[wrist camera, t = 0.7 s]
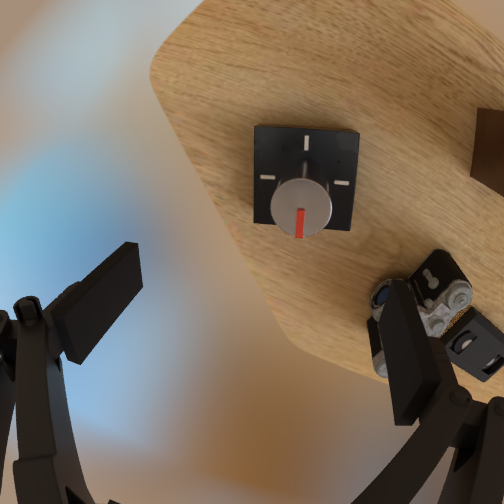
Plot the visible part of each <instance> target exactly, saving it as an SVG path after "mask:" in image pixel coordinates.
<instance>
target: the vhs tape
mask: <svg viewBox="0 0 504 504" xmlns="http://www.w3.org/2000/svg"><path fill="white" fill-rule="evenodd" d="M440 341H441V342H442V343H443V344H444V346H445V348H446V351H447V355H448V356H449V359H450V362H452V363H454V364H455V365H457V366H458V367H460V368H461V369H463V370H465V371H466V372H468V373H469V374H471V375H472V376H474V377H475V378H477V379H478V380H480V381H482V382H486V381H487V380H488V379H489V378H490V377H491V376H493V375H494V374H495V373H496V372H497V371H498V370H499V369H500V368H501V367H503V366H504V334H503V333H502V332H501V331H500V330H499V329H498V328H497V327H495V326H494V325H493V324H492V323H491V322H490V321H489V320H488V319H486V318H485V317H484V316H483V315H482V314H481V313H480V312H478V311H477V310H476V309H475V308H474V307H473V306H472V307H471V308H470V309H469V310H468V311H467V312H466V313H465V314H464V315H463V316H462V317H461V318H460V319H459V320H458V321H457V322H456V323H455V324H454V325H453V326H452V327H451V328H450V329H449V330H448V331H447V332H446V333H445V334H444V335H443V336H442V337H441V338H440Z"/></svg>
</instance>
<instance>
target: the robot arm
mask: <svg viewBox="0 0 504 504" xmlns="http://www.w3.org/2000/svg"><path fill="white" fill-rule="evenodd" d="M142 288H143V283H142V275H141V266H140V258H139V248H138V243H132V242H125V243H124V244H123V245H121V246H120V247H119V248H118V249H117V250H116V251H115V252H113V253H112V254H111V255H110V256H109V257H108V258H106V259H105V260H104V261H103V262H102V263H101V264H100V265H99V266H97V267H96V268H95V269H94V270H93V271H92V272H91V273H90V274H88V275H87V276H86V277H85V278H84V279H83V280H82V281H81V282H79V281H78V282H76V283H74V284H72V285H70V286H68V287H67V288H66V289H65V290H64V291H63V293H61V294H60V295H59V296H58V298H56V299H54V301H52V302H51V303H50V304H49V305H48V306H47V307H46V308H45V309H44V310H42V307H41V304H40V301H39V299H38V298H37V297H35V296H26V297H23V298H21V299H19V300H18V301H17V302H16V303H15V304H14V306H13V309H14V312H15V314H16V317H17V320H10V318H9V316H8V313H7V312H6V311H5V310H0V355H1V357H0V493H1V486H2V477H3V468H4V460H5V454H6V447H7V441H8V435H9V430H10V424H11V420H12V415H13V410H14V406H15V402H16V426H17V440H18V451H19V459H18V460H16V461H14V462H13V475H14V482H15V489H16V495H17V501H18V504H95V502H94V500H93V498H92V497H91V495H90V493H89V491H88V489H87V486H86V484H85V480H84V477H83V473H82V469H81V465H80V462H79V458H78V453H77V449H76V445H75V440H74V436H73V432H72V426H71V421H70V416H69V410H68V404H67V398H66V391H65V384H64V377H63V369H62V361H61V358H60V354H61V353H62V352H63V351H64V352H65V355H66V357H67V359H68V360H69V361H71V362H74V363H76V364H79V365H81V364H82V363H83V361H84V360H85V359H86V357H87V356H88V355H89V353H90V352H91V351H92V349H93V348H94V347H95V346H96V345H97V343H98V342H99V341H100V339H101V338H102V337H103V335H104V334H105V333H106V332H107V331H108V329H109V328H110V327H111V326H112V324H113V323H114V322H115V320H116V319H117V318H118V317H119V316H120V314H121V313H122V312H123V311H124V309H125V308H126V307H127V306H128V305H129V303H130V302H131V301H132V300H133V298H134V297H135V296H136V295H137V294H138V292H139V291H140V290H141V289H142ZM378 325H379V330H380V335H381V340H382V346H383V351H384V356H385V362H386V368H387V374H388V380H389V386H390V392H391V398H392V405H393V413H394V421H395V425H396V426H404V425H405V426H412V425H413V424H414V422H415V421H416V419H417V418H419V423H420V425H419V427H418V428H417V429H416V431H415V432H414V433H413V435H412V436H411V437H410V439H409V440H408V441H407V442H406V443H405V445H404V446H403V447H402V448H401V450H400V451H399V452H398V453H397V454H396V456H395V457H394V458H393V459H392V460H391V462H390V463H389V464H388V465H387V466H386V467H385V468H384V470H383V471H382V472H381V473H380V474H379V475H378V476H377V477H376V478H375V479H374V480H373V482H372V483H371V484H370V485H369V486H368V487H367V488H366V489H365V490H364V491H363V492H362V493H361V494H360V495H359V496H358V497H357V498H356V499H355V500H354V501H353V502H352V503H351V504H409V503H410V501H411V500H412V499H413V498H414V496H415V495H416V494H417V492H418V491H419V490H420V488H421V487H422V486H423V484H424V483H425V481H426V480H427V478H428V477H429V476H430V474H431V473H432V471H433V470H434V468H435V467H436V466H437V464H438V463H439V461H440V459H441V458H442V456H443V455H444V453H445V452H446V450H447V448H448V447H449V446H450V447H454V448H455V451H454V455H453V458H452V462H451V465H450V468H449V472H448V475H447V478H446V481H445V484H444V486H443V489H442V492H441V495H440V498H439V501H438V503H437V504H502V500H503V496H504V397H500V396H497V397H493V398H492V399H491V400H490V401H489V403H488V404H486V403H482V402H479V401H475V400H473V399H472V396H471V394H470V393H469V391H468V390H467V389H465V388H464V387H462V386H460V385H459V384H458V381H457V378H456V376H455V373H454V370H453V367H452V364H451V362H450V359H449V356H448V355H447V351H446V348H445V346H444V344H443V343H442V342H441V341H440V339H439V338H438V337H433V336H428V335H427V333H426V330H425V327H424V324H423V322H422V319H421V316H420V314H419V311H418V309H417V306H416V303H415V301H414V298H413V296H412V294H411V291H410V289H409V286H408V284H407V281H405V280H398V279H392V281H391V285H390V288H389V291H388V294H387V297H386V301H385V304H384V307H383V310H382V313H381V316H380V319H379V321H378ZM108 504H119V503H117V502H115V501H112V500H109V502H108Z"/></svg>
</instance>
